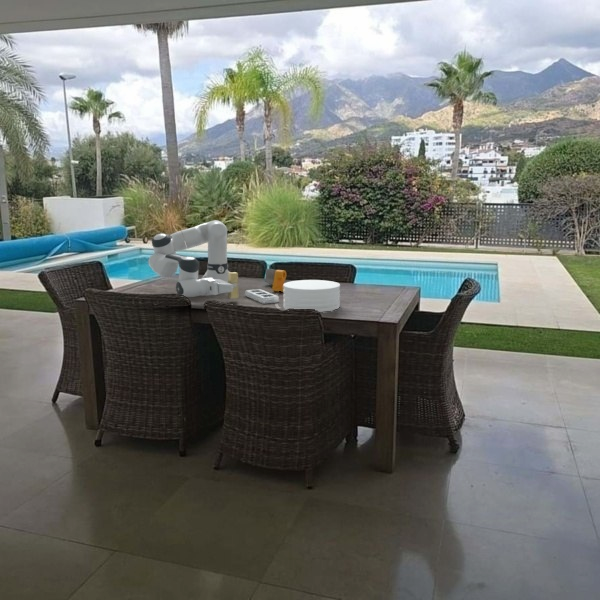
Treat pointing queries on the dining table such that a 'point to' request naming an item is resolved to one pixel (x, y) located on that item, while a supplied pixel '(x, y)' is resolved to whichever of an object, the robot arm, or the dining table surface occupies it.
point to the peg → (232, 279)
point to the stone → (270, 276)
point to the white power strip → (262, 296)
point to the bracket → (279, 280)
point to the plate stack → (311, 295)
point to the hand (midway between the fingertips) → (234, 284)
